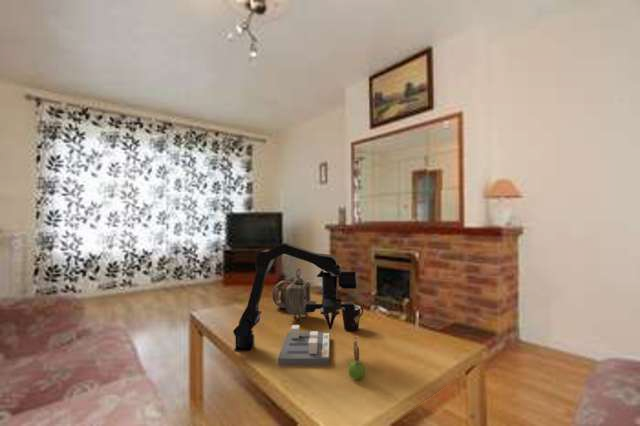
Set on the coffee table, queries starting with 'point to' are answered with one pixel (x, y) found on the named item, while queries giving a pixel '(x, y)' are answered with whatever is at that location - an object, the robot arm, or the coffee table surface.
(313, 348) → the near slider
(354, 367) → the snail figurine
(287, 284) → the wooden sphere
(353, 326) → the coffee mug
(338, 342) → the coffee table surface
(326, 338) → the switch panel
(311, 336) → the middle slider
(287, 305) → the tabletop clock
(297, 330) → the far slider
